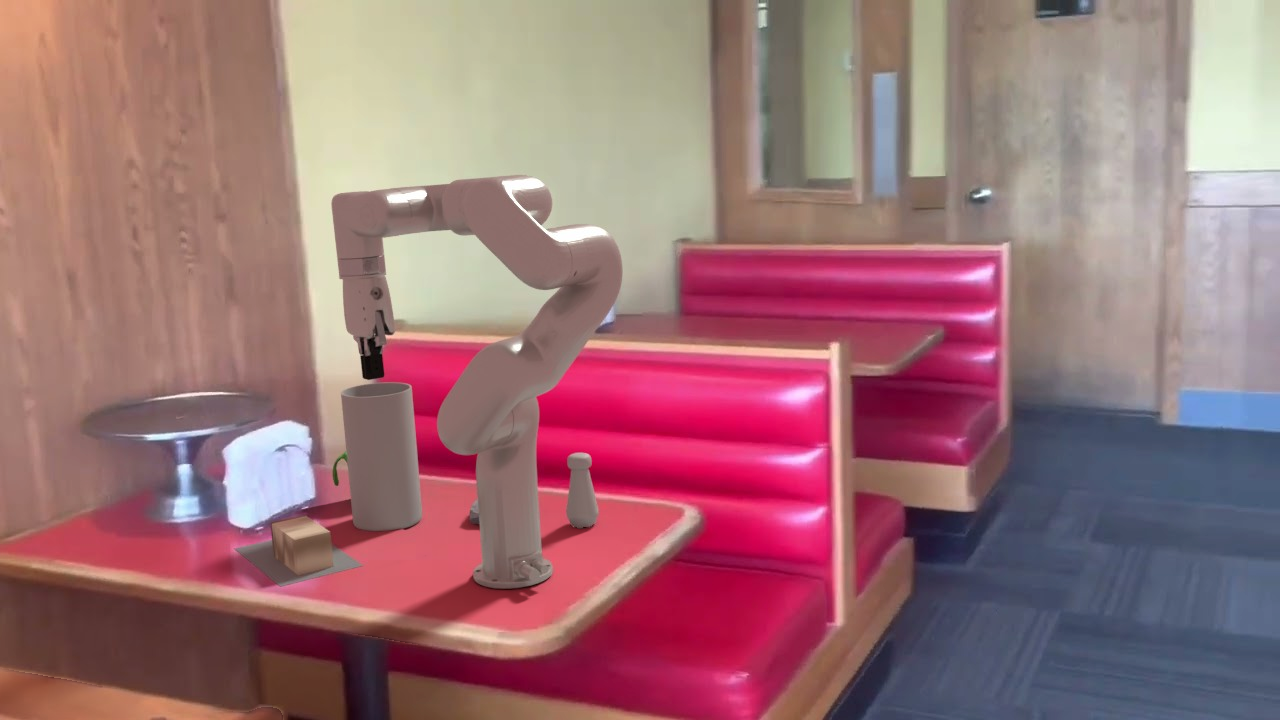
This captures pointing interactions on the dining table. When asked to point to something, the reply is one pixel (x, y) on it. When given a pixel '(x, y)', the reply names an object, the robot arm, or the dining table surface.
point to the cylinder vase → (382, 456)
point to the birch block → (302, 544)
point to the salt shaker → (581, 492)
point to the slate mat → (282, 574)
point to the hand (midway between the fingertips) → (373, 377)
